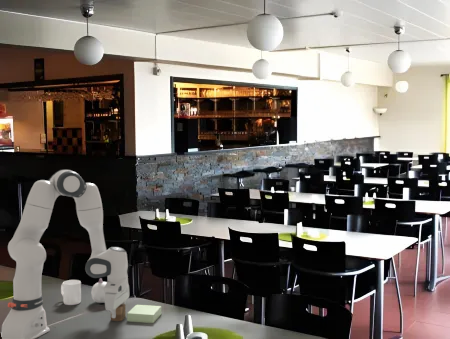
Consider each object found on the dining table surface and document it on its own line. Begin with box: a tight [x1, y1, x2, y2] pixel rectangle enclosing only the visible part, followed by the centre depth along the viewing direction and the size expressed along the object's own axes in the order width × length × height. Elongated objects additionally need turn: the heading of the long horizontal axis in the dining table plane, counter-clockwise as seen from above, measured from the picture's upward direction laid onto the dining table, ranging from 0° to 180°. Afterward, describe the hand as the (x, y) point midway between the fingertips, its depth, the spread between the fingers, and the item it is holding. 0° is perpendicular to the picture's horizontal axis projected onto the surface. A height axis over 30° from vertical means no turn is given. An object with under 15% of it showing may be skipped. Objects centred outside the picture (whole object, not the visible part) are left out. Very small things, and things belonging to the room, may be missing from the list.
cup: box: [60, 279, 82, 306], centre depth 270 cm, size 8×12×10 cm
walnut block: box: [110, 303, 127, 322], centre depth 247 cm, size 5×5×6 cm
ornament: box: [90, 278, 107, 304], centre depth 269 cm, size 10×10×12 cm
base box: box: [126, 304, 162, 324], centre depth 249 cm, size 12×12×4 cm
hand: (118, 314), depth 247 cm, fingers open, 8 cm apart
